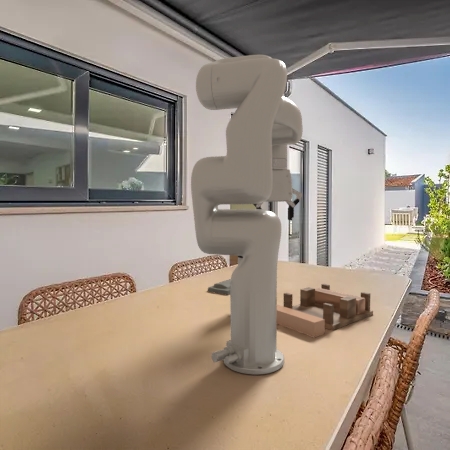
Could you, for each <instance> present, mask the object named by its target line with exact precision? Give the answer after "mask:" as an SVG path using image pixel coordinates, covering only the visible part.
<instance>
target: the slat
mask: <svg viewBox="0 0 450 450" xmlns="http://www.w3.org/2000/svg"><path fill="white" fill-rule="evenodd" d="M277 325H280V326H283V327H285V328H288V329H290V330H293V331H296V332H298V333H301V334H303V335H307V336H310V337H312V338H316V337H319V336H322V335H324V334H325V333H326V332H325V329H326V328H325V319H322V318H319V317H316V316H312V315H309V314H306V313H303V312H300V311H296V310H293V309H290V308H287V307H284V305H279V304H277Z"/></svg>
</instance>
